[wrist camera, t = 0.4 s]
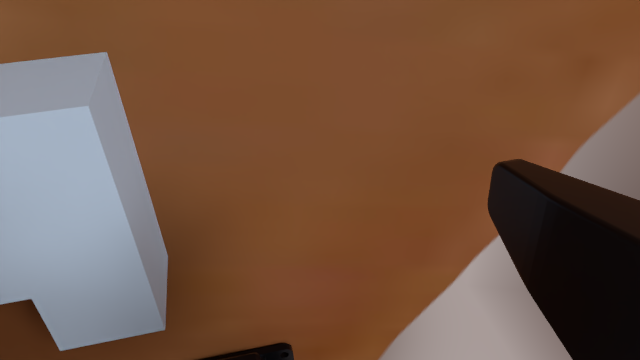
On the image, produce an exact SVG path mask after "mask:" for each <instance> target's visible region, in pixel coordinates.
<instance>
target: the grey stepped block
mask: <svg viewBox="0 0 640 360" xmlns="http://www.w3.org/2000/svg"><path fill="white" fill-rule="evenodd" d="M167 268H168V255H167V252H166V248H165V245H164V242H163V238H162V235H161V232H160V228H159V225H158V221H157V218H156V215H155V211H154V208H153V205H152V201H151V198H150V195H149V191H148V188H147V185H146V181H145V178H144V175H143V171H142V168H141V165H140V161H139V158H138V155H137V151H136V148H135V145H134V141H133V138H132V135H131V131H130V128H129V125H128V121H127V118H126V115H125V111H124V108H123V105H122V101H121V98H120V94H119V91H118V88H117V84H116V81H115V78H114V74H113V71H112V68H111V64H110V61H109V58H108V54H107V52H103V53H94V54H85V55H76V56H67V57H58V58H50V59H41V60H32V61H23V62H14V63H6V64H0V304H6V303H11V302H16V301H22V300H27V299H32V301H33V303H34V304H35V306H36V308H37V310H38V312H39V313H40V315H41V317H42V319H43V321H44V322H45V324H46V326H47V328H48V330H49V332H50V333H51V335H52V337H53V339H54V341H55V342H56V344H57V346H58V348H59V350H60V351H63V350H68V349H73V348H78V347H83V346H88V345H93V344H98V343H103V342H108V341H112V340H117V339H122V338H127V337H132V336H137V335H142V334H147V333H152V332H157V331H162V330H165V322H166V295H167Z"/></svg>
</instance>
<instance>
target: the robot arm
mask: <svg viewBox="0 0 640 360" xmlns="http://www.w3.org/2000/svg"><path fill="white" fill-rule="evenodd" d="M488 211H489V214H490V217H491V219H492V221H493V223H494V225H495V227H496V229H497V231H498V233H499V235H500V237H501V239H502V241H503V243H504V245H505V247H506V249H507V251H508V252H509V255H510V257H511V259H512V261H513V263H514V265H515V267H516V269H517V271H518V273H519V275H520V277H521V279H522V280H523V282H524V284H525V286H526V288H527V289H528V291H529V293H530V294H531V296H532V297H533V299H534V301H535V302H536V303H537V305H538V307H539V308H540V310H541V311H542V313H543V315H544V316H545V318H546V319H547V321H548V322H549V324H550V325H551V327H552V328H553V330H554V331H555V333H556V335H557V336H558V338H559V339H560V341H561V342H562V344H563V345H564V347H565V348H566V350H567V352H568V353H569V355H570V356H571V357H572V359H573V360H640V200H637V199H634V198H631V197H628V196H625V195H622V194H619V193H616V192H614V191H611V190H608V189H605V188H602V187H599V186H596V185H594V184H590V183H588V182H585V181H582V180H579V179H576V178H573V177H571V176H568V175H565V174H562V173H559V172H556V171H553V170H550V169H548V168H545V167H542V166H539V165H536V164H533V163H530V162H527V161H525V160H521V159H514V160H509V161H503V162H499V163H497V164H496V165H495V166H494V168H493V171H492V177H491V183H490V190H489V196H488ZM205 360H294V357H293V350H292V347H291V345H289V344H279V345H274V346H269V347H264V348H259V349H254V350H249V351H245V352H240V353H235V354H230V355H225V356H220V357H215V358H210V359H205Z"/></svg>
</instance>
